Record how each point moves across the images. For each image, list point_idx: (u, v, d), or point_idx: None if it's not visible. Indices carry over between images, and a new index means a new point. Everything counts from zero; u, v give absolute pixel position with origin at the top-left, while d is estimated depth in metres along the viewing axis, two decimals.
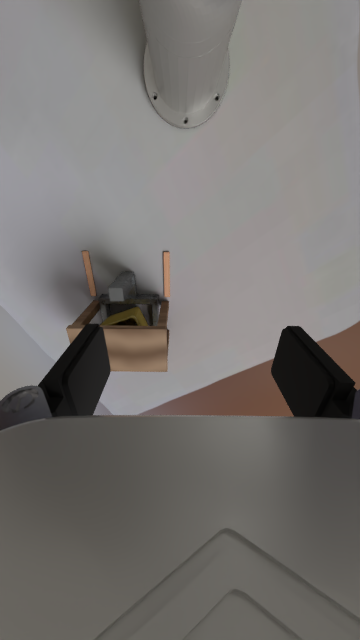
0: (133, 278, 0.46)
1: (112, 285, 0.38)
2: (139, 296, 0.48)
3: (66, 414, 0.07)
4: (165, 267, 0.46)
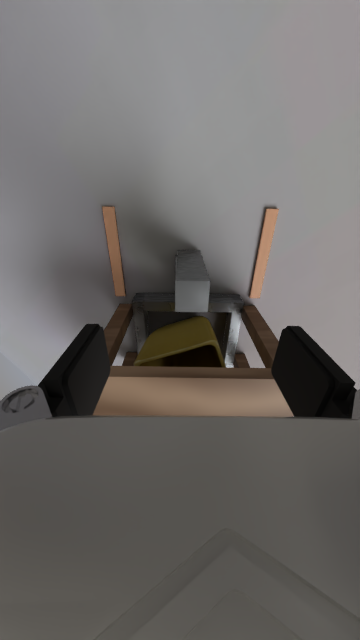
0: None
1: (180, 274, 0.16)
2: None
3: (66, 414, 0.07)
4: (264, 241, 0.23)
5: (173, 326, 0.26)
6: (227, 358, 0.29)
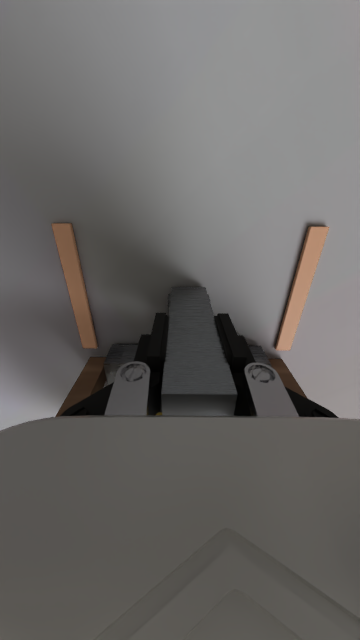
0: None
1: (174, 366, 0.08)
2: None
3: (160, 387, 0.09)
4: (302, 274, 0.15)
5: None
6: None
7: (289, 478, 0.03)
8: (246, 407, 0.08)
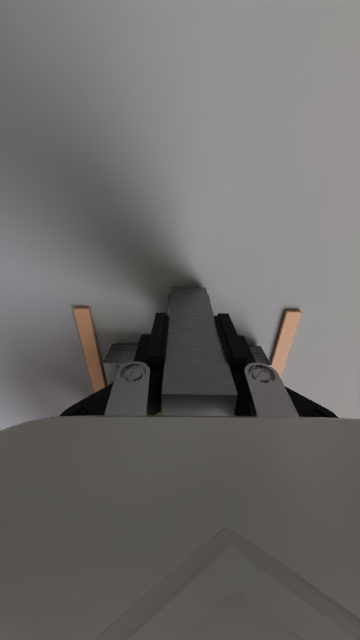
0: None
1: (174, 366, 0.08)
2: None
3: (160, 387, 0.09)
4: (281, 345, 0.18)
5: None
6: None
7: (289, 478, 0.03)
8: (246, 407, 0.08)
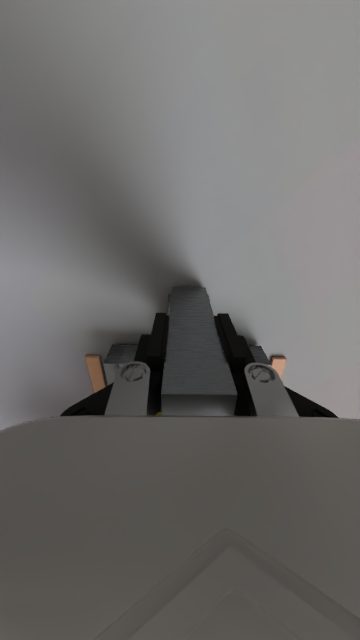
0: None
1: (174, 366, 0.08)
2: None
3: (160, 387, 0.09)
4: None
5: None
6: None
7: (289, 478, 0.03)
8: (246, 408, 0.08)
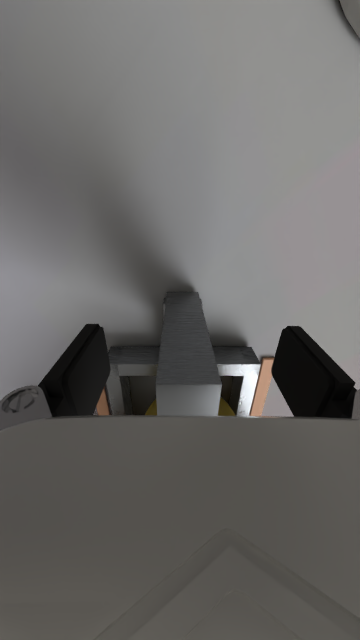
0: None
1: (167, 361, 0.09)
2: None
3: (66, 414, 0.07)
4: (261, 384, 0.22)
5: None
6: None
7: (289, 478, 0.03)
8: None
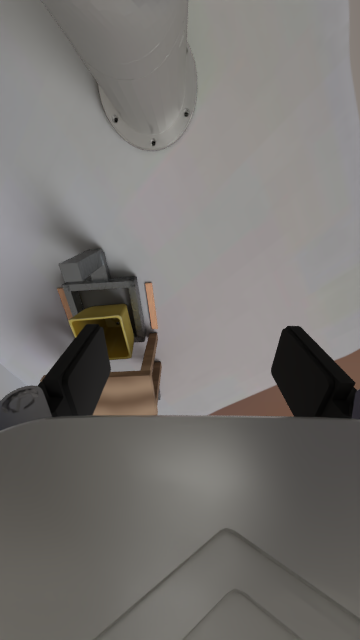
0: (102, 256, 0.37)
1: (66, 261, 0.29)
2: (112, 279, 0.39)
3: (66, 414, 0.07)
4: (149, 299, 0.42)
5: (104, 306, 0.39)
6: (136, 322, 0.41)
7: (289, 478, 0.03)
8: None
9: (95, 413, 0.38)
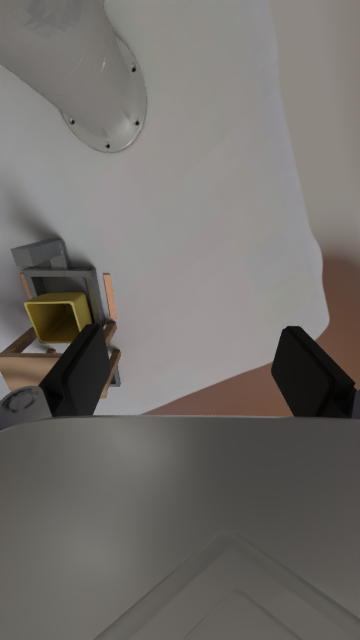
0: (61, 246, 0.39)
1: (19, 247, 0.32)
2: (72, 268, 0.41)
3: (66, 414, 0.07)
4: (107, 289, 0.44)
5: (62, 292, 0.42)
6: (93, 310, 0.44)
7: (289, 478, 0.03)
8: None
9: None
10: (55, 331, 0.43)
